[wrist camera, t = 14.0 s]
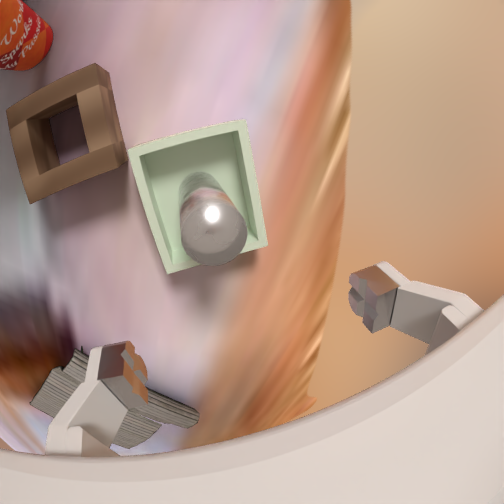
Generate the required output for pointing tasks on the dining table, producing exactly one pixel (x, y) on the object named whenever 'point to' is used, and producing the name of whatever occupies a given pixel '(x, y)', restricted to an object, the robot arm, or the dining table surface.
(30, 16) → the paper cup
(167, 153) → the tray
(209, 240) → the steel pin
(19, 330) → the dining table surface
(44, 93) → the socket block
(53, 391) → the mat
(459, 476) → the robot arm
